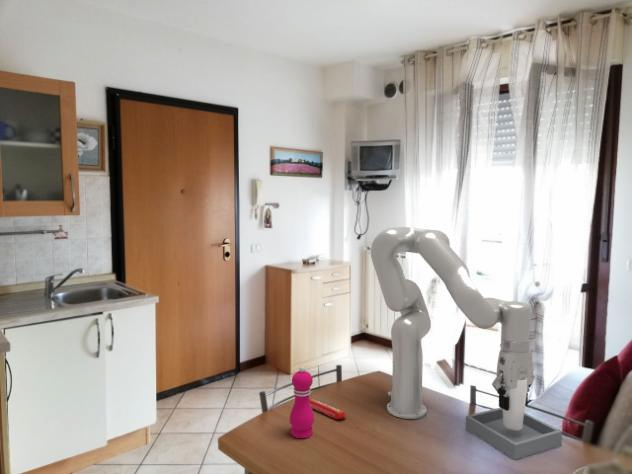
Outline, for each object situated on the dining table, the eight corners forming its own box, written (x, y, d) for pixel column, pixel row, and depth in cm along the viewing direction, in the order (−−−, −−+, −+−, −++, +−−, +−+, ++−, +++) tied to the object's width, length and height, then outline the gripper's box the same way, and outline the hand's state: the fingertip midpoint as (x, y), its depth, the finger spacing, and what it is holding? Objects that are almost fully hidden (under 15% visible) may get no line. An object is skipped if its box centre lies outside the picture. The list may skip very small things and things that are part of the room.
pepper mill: (284, 433, 128) (284, 366, 127) (301, 425, 133) (302, 360, 132) (301, 442, 123) (302, 372, 122) (319, 433, 129) (320, 366, 127)
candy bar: (347, 419, 138) (347, 410, 138) (340, 423, 135) (340, 414, 135) (311, 403, 149) (311, 395, 149) (303, 407, 146) (303, 398, 146)
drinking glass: (528, 434, 123) (530, 381, 123) (502, 431, 125) (504, 379, 124) (522, 422, 130) (524, 372, 129) (497, 420, 131) (499, 371, 130)
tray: (465, 428, 132) (465, 415, 132) (509, 417, 140) (509, 405, 139) (515, 460, 116) (515, 445, 116) (561, 445, 123) (562, 431, 123)
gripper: (503, 353, 119) (501, 417, 120) (547, 345, 126) (545, 406, 127) (482, 345, 126) (480, 406, 127) (525, 338, 133) (523, 396, 134)
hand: (513, 405), depth 127 cm, fingers closed on drinking glass, 6 cm apart
